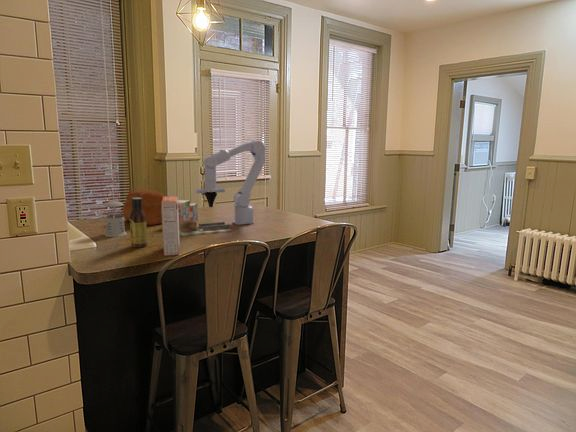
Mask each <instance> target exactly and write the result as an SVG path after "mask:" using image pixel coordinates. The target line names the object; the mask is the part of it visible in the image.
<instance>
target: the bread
mask: <svg viewBox="0 0 576 432" xmlns="http://www.w3.org/2000/svg"><path fill="white" fill-rule="evenodd" d="M137 197H139V198H142V210H143V211H144V212H145V215H146V226H153V225H154V226H155V225H160V224H161V225H162V210H161V202H162V199H163V197H165V195H164V194H163V193H162V192H160V191H157V190H151V189H143V188H141V189H133V190H131V191H130V192H129V193H128V194H127V195H126V197H125V203H123V204H124V205H123V209H122V213H123V214H122V216H124V220H126V221H127V222H130V215H131V212H132V198H137Z"/></svg>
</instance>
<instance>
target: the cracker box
mask: <svg viewBox="0 0 576 432" xmlns="http://www.w3.org/2000/svg"><path fill="white" fill-rule="evenodd" d="M164 196H165V195H164ZM178 200H179V197H178V196H175V195H173V196H172V195H168V196H167V195H166V196H165V197H163V199H162V202H161V210H162V223H161V225H162V226H161V229H162V245H163V256H164V257H165V256H166V257H168V256H169V257H170V256H171V257H172V256H180V244H181V243H180V234H179V213H178Z"/></svg>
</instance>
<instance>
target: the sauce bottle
mask: <svg viewBox="0 0 576 432" xmlns="http://www.w3.org/2000/svg"><path fill="white" fill-rule="evenodd" d="M129 229H130V231H129V232H130V243H131V247H132V248H144V247H146V246H147V245H148V231H147V225H146V215H145V212H144V211H143V210H142V198H139V197H137V198H132V212H131V215H130V221H129Z"/></svg>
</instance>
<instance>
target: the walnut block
mask: <svg viewBox="0 0 576 432" xmlns="http://www.w3.org/2000/svg"><path fill="white" fill-rule="evenodd" d="M197 227H198V225H197V222H196V221H184V222H179V230H180V231H181V232H189V231H197Z"/></svg>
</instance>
